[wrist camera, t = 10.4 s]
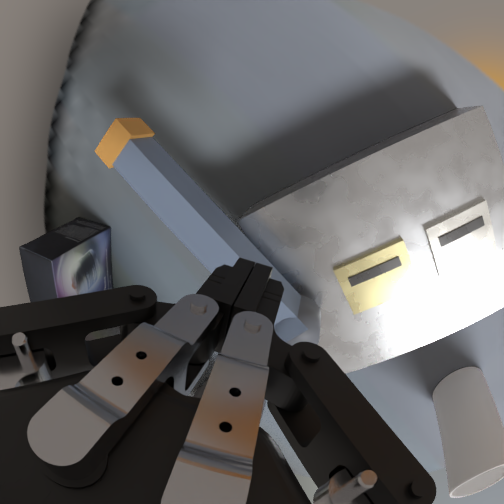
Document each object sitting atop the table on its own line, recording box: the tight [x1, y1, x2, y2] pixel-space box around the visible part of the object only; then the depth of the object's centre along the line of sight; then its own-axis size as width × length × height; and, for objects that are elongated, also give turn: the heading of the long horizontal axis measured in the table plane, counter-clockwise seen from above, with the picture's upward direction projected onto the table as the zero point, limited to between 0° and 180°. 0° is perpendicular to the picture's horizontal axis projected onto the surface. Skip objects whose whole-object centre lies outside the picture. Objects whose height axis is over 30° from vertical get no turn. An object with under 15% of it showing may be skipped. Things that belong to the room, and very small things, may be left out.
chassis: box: [237, 106, 504, 374], centre depth 23 cm, size 22×18×6 cm
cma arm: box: [95, 118, 321, 345], centre depth 21 cm, size 22×4×3 cm, turn 44°
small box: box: [19, 218, 113, 302], centre depth 31 cm, size 11×6×10 cm, turn 170°
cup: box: [432, 367, 504, 498], centre depth 23 cm, size 8×8×16 cm
